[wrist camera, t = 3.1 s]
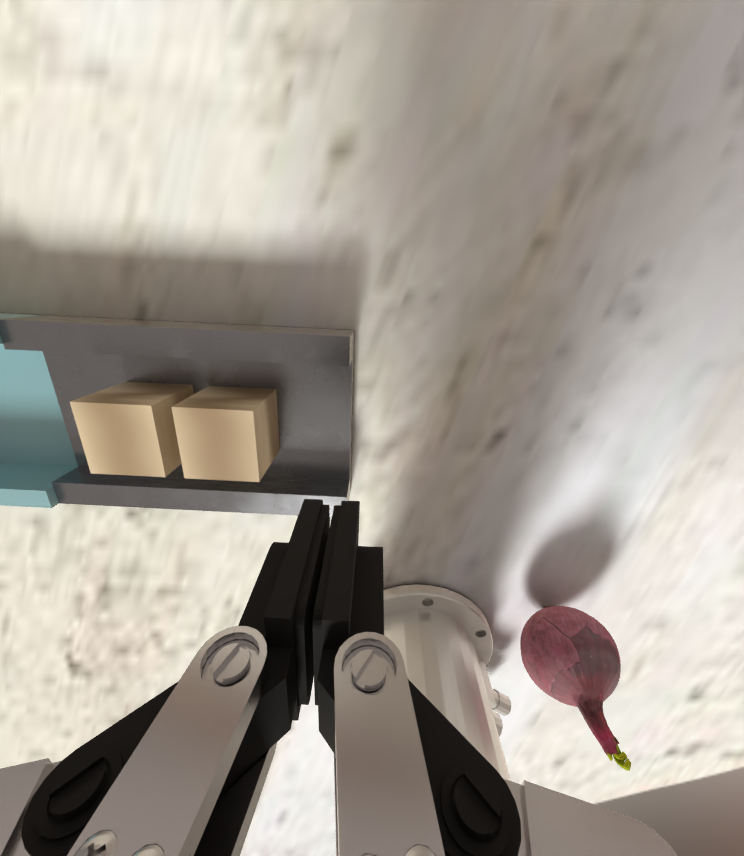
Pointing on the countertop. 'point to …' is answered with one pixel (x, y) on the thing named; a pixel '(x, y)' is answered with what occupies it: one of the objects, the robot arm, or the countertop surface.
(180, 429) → the chip
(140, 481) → the rail
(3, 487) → the tray
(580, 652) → the vegetable
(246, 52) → the countertop surface
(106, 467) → the chip
